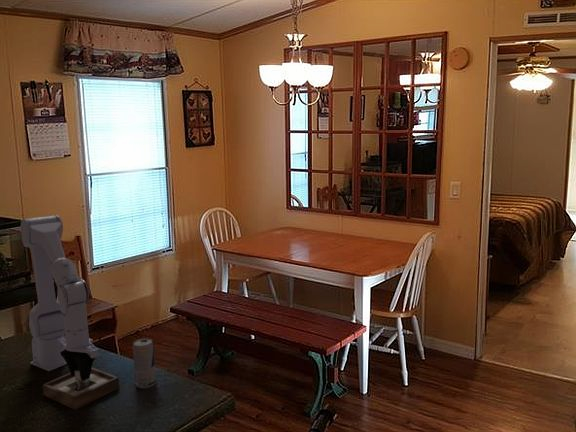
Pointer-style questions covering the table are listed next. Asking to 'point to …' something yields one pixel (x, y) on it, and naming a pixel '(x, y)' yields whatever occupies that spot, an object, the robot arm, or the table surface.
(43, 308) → the robot arm
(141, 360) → the energy drink
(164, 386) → the table surface
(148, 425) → the table surface
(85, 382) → the peg
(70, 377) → the bore box
